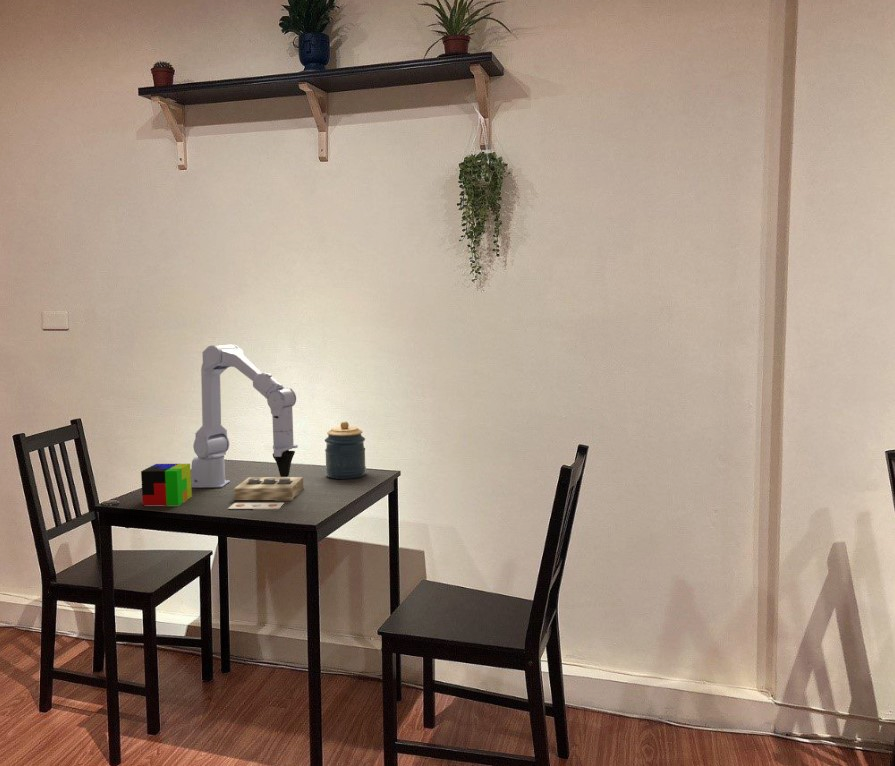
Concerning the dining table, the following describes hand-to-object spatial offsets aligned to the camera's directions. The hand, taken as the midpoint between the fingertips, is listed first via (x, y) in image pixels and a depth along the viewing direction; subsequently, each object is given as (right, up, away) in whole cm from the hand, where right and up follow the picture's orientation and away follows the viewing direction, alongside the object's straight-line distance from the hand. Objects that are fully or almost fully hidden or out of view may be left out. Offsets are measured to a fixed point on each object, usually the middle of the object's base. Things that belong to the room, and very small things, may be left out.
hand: (284, 476), depth 221 cm
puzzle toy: (-32, -7, -6) cm, 33 cm away
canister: (+15, -3, +25) cm, 29 cm away
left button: (-9, -3, +1) cm, 9 cm away
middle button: (-4, -3, 0) cm, 5 cm away
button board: (-4, -5, +1) cm, 7 cm away
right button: (0, -3, 0) cm, 3 cm away
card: (-5, -7, -13) cm, 15 cm away
